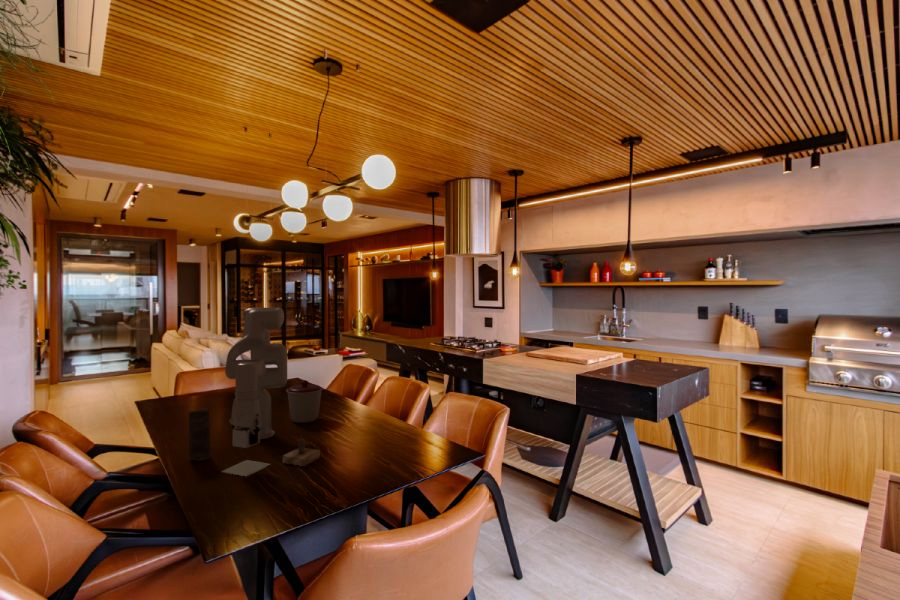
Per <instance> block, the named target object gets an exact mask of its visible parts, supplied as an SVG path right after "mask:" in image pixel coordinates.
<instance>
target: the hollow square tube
mask: <svg viewBox="0 0 900 600" xmlns="http://www.w3.org/2000/svg"><path fill="white" fill-rule="evenodd" d="M253 428H254V430H255V427H253ZM250 434H252V433H251V430H250V428H247V427H240V428H237V429H232V447H237V448H243V449H248V448H250V447H253V446H254V445H257V444H260V443H261V439H260V432H258V443H256V444H253V445H251V444H250Z"/></svg>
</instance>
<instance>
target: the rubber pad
mask: <svg viewBox="0 0 900 600" xmlns="http://www.w3.org/2000/svg"><path fill="white" fill-rule="evenodd" d="M269 465H270V466H271V465H272V463H267V462H263V461H262V462H261V461H257V460H256V461H255V460H248V459H246V460H243V461H240V462H239V463H237V464H234V465H232V466H230V467H227V468H226V469H223V470H221V471H220V472H221V473H222V474H226V475H227V474H228V475H232V474H233V476H237V475H239V476H238V477H243V476H245V477H244V478H248V477H250V476H252V475H254V474H256V473H258V472H260V471H262V470H263V469H266V468H268V467H270V466H269ZM267 466H268V467H267ZM251 474H252V475H251ZM249 475H250V476H249ZM247 476H248V477H247Z"/></svg>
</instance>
